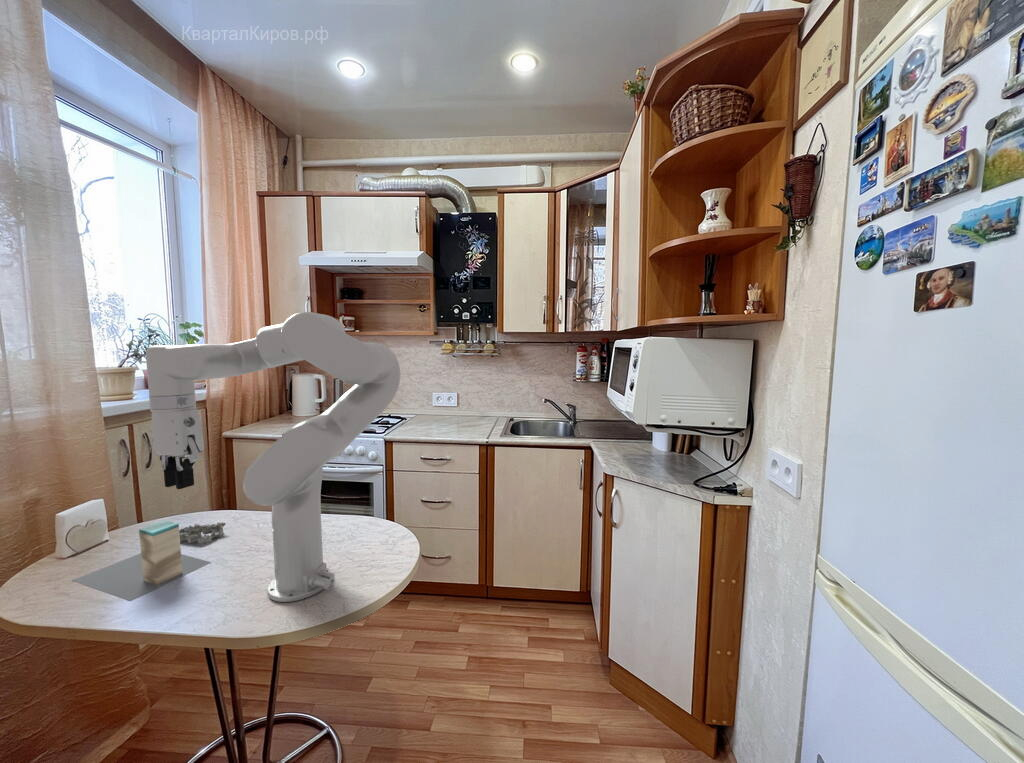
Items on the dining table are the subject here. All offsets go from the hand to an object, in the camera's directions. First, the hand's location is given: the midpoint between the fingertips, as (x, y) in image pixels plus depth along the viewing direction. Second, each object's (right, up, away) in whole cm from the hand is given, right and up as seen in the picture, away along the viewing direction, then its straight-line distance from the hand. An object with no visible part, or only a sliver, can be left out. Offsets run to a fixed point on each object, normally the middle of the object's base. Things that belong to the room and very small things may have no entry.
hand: (179, 485), depth 86 cm
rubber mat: (-14, -23, +7) cm, 28 cm away
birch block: (-8, -22, +5) cm, 24 cm away
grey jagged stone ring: (-15, -22, +24) cm, 36 cm away
